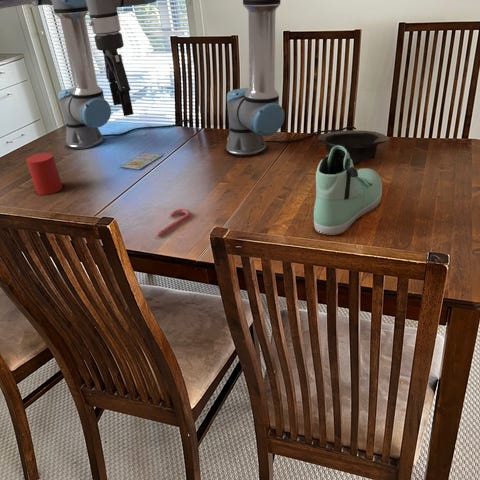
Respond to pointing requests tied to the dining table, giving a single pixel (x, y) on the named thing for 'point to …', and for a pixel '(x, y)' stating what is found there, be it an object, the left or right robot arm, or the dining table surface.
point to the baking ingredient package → (141, 161)
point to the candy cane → (177, 222)
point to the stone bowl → (354, 143)
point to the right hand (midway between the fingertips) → (123, 109)
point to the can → (44, 173)
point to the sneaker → (343, 192)
